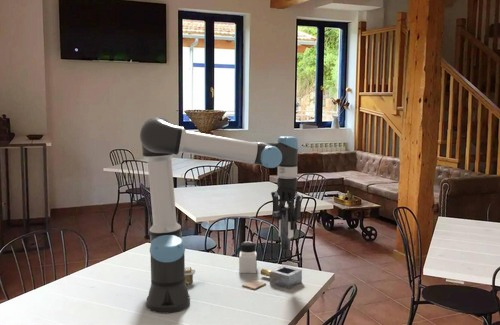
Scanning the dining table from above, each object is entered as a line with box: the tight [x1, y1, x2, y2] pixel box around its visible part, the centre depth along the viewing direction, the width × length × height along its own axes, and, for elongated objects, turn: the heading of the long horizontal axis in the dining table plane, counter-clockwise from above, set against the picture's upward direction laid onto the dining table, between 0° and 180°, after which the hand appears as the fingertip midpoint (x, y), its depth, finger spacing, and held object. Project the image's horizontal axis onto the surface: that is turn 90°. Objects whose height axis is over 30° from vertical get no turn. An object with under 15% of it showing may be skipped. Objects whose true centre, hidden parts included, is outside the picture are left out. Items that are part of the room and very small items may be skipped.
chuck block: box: [260, 264, 303, 290], centre depth 200 cm, size 9×16×5 cm, turn 52°
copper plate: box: [241, 279, 267, 291], centre depth 196 cm, size 7×6×1 cm
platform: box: [185, 266, 196, 285], centre depth 197 cm, size 12×18×7 cm, turn 109°
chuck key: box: [272, 206, 291, 251], centre depth 193 cm, size 10×4×16 cm, turn 142°
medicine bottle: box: [238, 241, 258, 274], centre depth 212 cm, size 7×7×12 cm
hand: (285, 236), depth 196 cm, fingers closed on chuck key, 3 cm apart
